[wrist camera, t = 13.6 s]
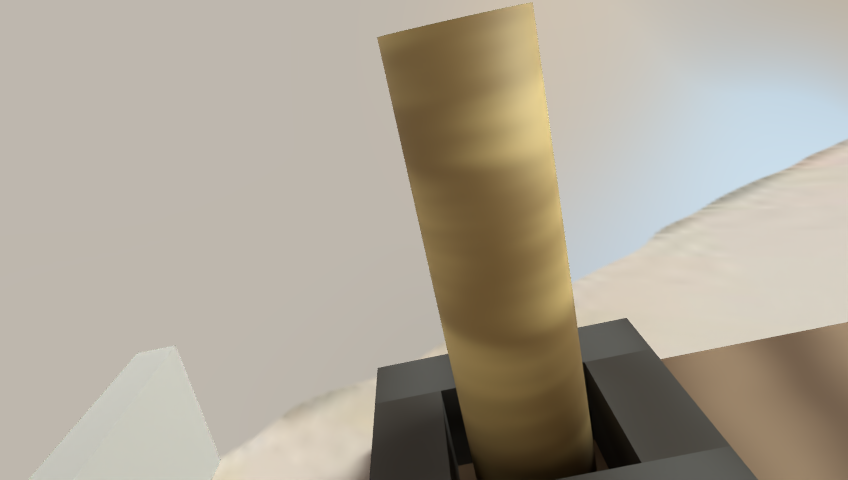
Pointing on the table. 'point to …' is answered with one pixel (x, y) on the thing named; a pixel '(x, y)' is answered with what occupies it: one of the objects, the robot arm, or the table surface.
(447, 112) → the peg
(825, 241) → the table surface
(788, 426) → the board
